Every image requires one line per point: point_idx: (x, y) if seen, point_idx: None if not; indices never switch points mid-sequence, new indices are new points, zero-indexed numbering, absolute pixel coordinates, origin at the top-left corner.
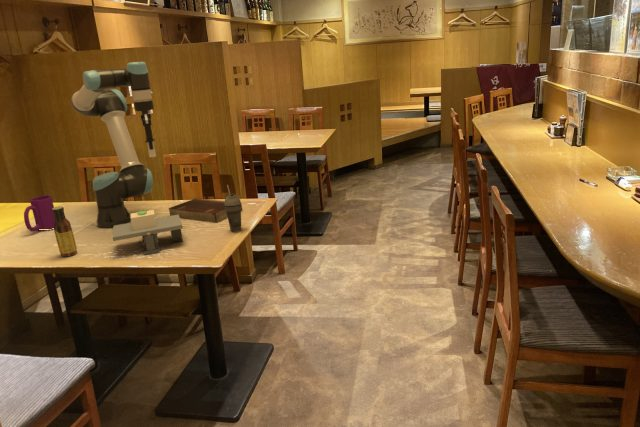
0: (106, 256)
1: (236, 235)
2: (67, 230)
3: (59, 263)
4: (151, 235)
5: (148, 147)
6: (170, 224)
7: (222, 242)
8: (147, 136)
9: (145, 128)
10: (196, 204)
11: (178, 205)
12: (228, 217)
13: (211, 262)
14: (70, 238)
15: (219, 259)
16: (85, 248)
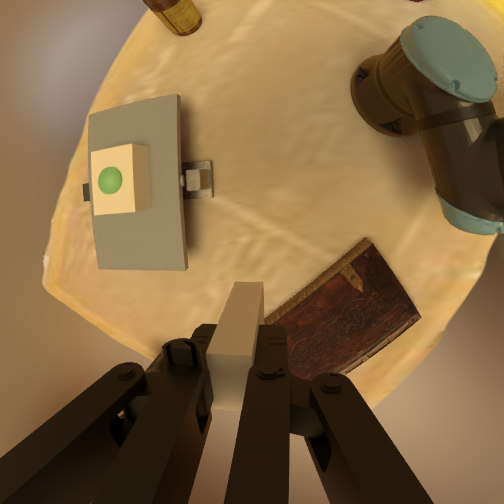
0: (132, 98)
1: (143, 347)
2: (150, 8)
3: (146, 25)
4: (88, 197)
5: (220, 326)
6: (110, 244)
7: (117, 318)
8: (86, 404)
9: (6, 461)
10: (360, 317)
11: (383, 271)
12: (154, 361)
13: (51, 283)
14: (159, 18)
15: (58, 295)
16: (209, 43)
